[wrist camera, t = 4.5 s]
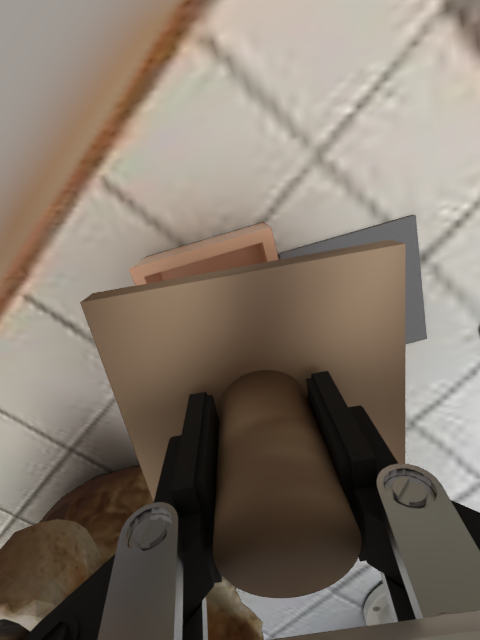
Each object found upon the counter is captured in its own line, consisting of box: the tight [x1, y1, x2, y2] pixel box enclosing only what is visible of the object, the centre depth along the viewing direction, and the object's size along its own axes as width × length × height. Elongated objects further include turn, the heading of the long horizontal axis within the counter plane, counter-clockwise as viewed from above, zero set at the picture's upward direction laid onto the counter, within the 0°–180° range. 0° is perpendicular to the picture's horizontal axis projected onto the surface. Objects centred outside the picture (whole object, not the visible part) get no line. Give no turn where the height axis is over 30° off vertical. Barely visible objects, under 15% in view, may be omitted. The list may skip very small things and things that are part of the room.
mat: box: [279, 215, 427, 344], centre depth 26 cm, size 10×10×1 cm
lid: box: [80, 240, 405, 598], centre depth 10 cm, size 10×10×6 cm
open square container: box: [129, 222, 279, 286], centre depth 24 cm, size 9×9×4 cm
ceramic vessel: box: [0, 466, 264, 640], centre depth 23 cm, size 23×24×25 cm
